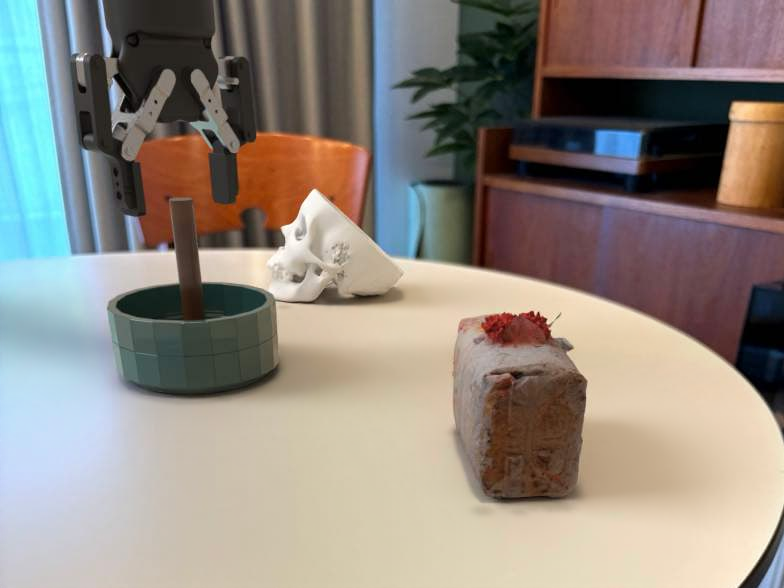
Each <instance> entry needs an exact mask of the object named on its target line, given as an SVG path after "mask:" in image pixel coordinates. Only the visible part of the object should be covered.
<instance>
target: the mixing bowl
mask: <svg viewBox="0 0 784 588" xmlns="http://www.w3.org/2000/svg"><path fill="white" fill-rule="evenodd" d="M202 289H203V298H204V308H205V317H206V320H188V321H184V319H183V311H182V303H181V294H180V286H179V282H172V283H163V284H155V285H150V286H145V287H140V288H135V289H131V290H128V291H125V292H123V293H120V294H118V295H116V296H115V297H113V298H112V299H110V300H109V301H108V302H107V306H106V312H107V318H108V323H109V329H110V335H111V341H112V348H113V354H114V360H115V366H116V371H117V372H118V373H119V374H120V375H121V376H122V377H123V378H124V379H126V380H128V381H131V382H133V383H134V384H135V385H137V386H138V387H141V388H143V389H146V390H149V391H153V392H158V393H164V394H165V393H166V394H175V395H201V394H211V393H219V392H226V391H230V390H235V389H239V388H242V387H246V386H249V385H251V384H253V383H256V382H258V381H259V380H261V379H263V378H265V376H266V375H267V373H269V372H270V371H272V370H274V369H275V368H276V366H277V364H279V362H280V351H279V350H280V348H279V335H278V333H279V332H278V319H277V318H278V317H277V302H276V301H277V300H276V299H275V298H274V296H273V294H272V293H270V292H268V290H266V289H264V288H262V287H257V286H253V285H249V284H243V283H237V282H236V283H234V282H225V281H202Z"/></svg>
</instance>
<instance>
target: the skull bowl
mask: <svg viewBox="0 0 784 588" xmlns="http://www.w3.org/2000/svg"><path fill="white" fill-rule="evenodd" d="M280 229H281V233H282V235H283V236H284V239H285V240H284V241H285V242H284V246H279V247H278V249H277V252H276V253H275V254H273V255H272V256H271V257H270V258H269V259H268V260H267V262H266V267H267V268H269V274H270V277H271V282H270V284H269V286H268V289H267V291H268V292H270V293H272V294H273V296H274V298H275V301H281V302H306V303H307V302H313V301H315V300H317V299H318V297H319V296H320V295H321V294H322V293H323V290H324V289H325V288H329V287H330V286H331V285H333V284H334V285H335V286H336V287H337V293H338V294H339V295H347V294H352V295H357V296H376V295H384V294H386V293H387V292H388V291H389V290H390V289H391V288H392V287H394V286H395V285H396V284H397V283H398V282H399V280H401V278H402V276H403V275H404V274H405V272H404V270H403V269H402V268H401V267H400V266H399V265H398V263H396V262H395V260H393V258H391V256H390V255H389V254H388V253H387V252H386V251H385V250H383V249H382V248H381V247H380V246H379V245H378V244H377V243H376V242H375V241H374V240H373V239H372V238H371V237H370V236H369V235H368V234H367V233H366V232H364V231H363V230H362V229H361V228H360V227H359V226H358V225H357V224H356V223H355V222H354V221H353V220H352V219H350V217H348V216H347V215H346V214H345V213H344V212H343V211H342V210H341V209H339V207H337V205H335V204H334V203H333V202H332V201H331V200H329V199H328V198H327V197H326V196H325V195H324V194H323V193H322V192H320V191H319V190H318V189H317V188H313V189H312V191H310V193H309V194H308V196H307V197H306V198H305V199H304V201H303V202H302V204H301V206H300V209H299V211H298V214H297V217H296V218H295V220H294V221H293V222H292V223H288V224H286V225H283V226H282V225H281V227H280ZM323 272H324V273H326V274H323V275H322V273H323Z"/></svg>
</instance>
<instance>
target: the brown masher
mask: <svg viewBox="0 0 784 588" xmlns="http://www.w3.org/2000/svg"><path fill="white" fill-rule="evenodd" d="M168 203H169V210H170V211H169V212H170V220H171V228H172V236H173V244H174V252H175V261H176V268H177V269H176V270H177V276H178V283H179V286H180V294H181V303H182V311H183V319H184V321H188V320H206V317H205V308H204V298H203V289H202V282H203V281H202V273H201V271H202V270H201V263H200V262H201V261H200V252H199V245H198V233H197V225H196V216H195V206H194V199H193V198H191V197H171V198H169V199H168Z"/></svg>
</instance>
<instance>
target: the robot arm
mask: <svg viewBox="0 0 784 588" xmlns="http://www.w3.org/2000/svg"><path fill="white" fill-rule="evenodd" d="M214 6H215V4H214V0H102V8H103V17H104V22H105V23H104V24H105V28H106V30H107V32H108V34H109V38H110V40H111V50H110V51H111V52H110V55H109V56H102V55H101V54H99V53H93V52H76V53H75V52H74V53H73V54H71V56H70V58H69V67H70V68H69V69H70V76H71V85H72V86H71V87H72V95H73V102H74V112H75V113H74V114H75V122H76V130H77V131H76V132H77V139H78V145H79V147H80V148H81V149H82V150H84V151H88V152H92V153H95V154H98V155H101V156H103V157H104V158H105V159H106V160H107V162H108V165H109V170H110V178H111V185H112V191H113V192H112V193H113V198H114V201H115V205H116V206H117V208H120V209H121V212H122V214H124V215H125V216H128V217H133V218H140V217H145V216H146V214H147V206H146V205H147V204H146V199H145V198H146V197H145V191H144V181H143V176H142V175H143V174H142V166H141V162H140V161H135V159H136V158H137V156H138V153H139V151H140V149H141V147H142V145H143V142H144V139H145V137H147V136H148V135H150V134H151V132H152V131H153V130H154V127H155V126H156V124H171V123H174V122H183V123H188V124H190V126H192V128H194V129H195V130H197V131H198V132H199V134H200V135H201V137H202V138H203V140H204V141H205V143H206V144H207V146H208V147H209V148H210V150H211V151H212V152H208V153H207V157H208V167H209V178H210V179H209V180H210V188H211V198H212V200H213V202H214V203H215V204H220V205H225V206H228V205H234V204H235V203H236V202H237V196H239V191H240V182H239V171H238V158H237V156H238V152H239V150H240V148H242V147H243V146H245V145H246V144H252V143H254V142H255V141H256V139H257V128H256V127H257V125H256V117H255V115H256V114H255V106H254V98H253V89H252V88H253V87H252V79H251V78H252V77H251V71H250V70H251V68H250V63H249V60H248V59H247V57H245V56H238V55H237V56H235V55H234V56H233V55H231V56H230V55H220V56H219V57H218V58H216V57H215V53H214V51H213V47H212V41H213V38H214V36H215V34H216V19H215V18H216V17H215V7H214ZM113 80H114V81H115V83H116V84H117V86H118V88H120V90H121V91H122V92H121V95H120V97H119V99H118V101H117V103H116V106H115V108H114V110H113V111H112V114H111V104H110V93H109V90H111V88H112V86H113V84H114V81H113ZM215 85H217V87H218V88H219V93H220V101H221V103H220V101H219V100H218V98H217V96H216V95H215V93H214V92H213V90H214V87H215Z"/></svg>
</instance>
